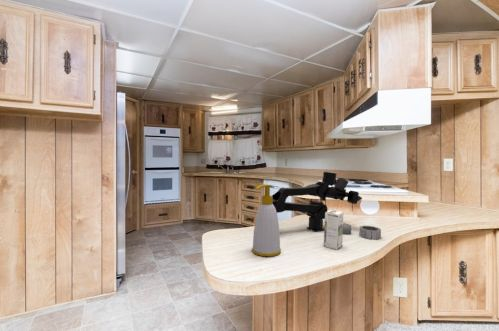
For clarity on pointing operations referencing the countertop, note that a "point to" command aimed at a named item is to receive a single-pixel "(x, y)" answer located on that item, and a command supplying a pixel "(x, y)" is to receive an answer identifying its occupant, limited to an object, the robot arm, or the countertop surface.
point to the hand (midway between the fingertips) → (355, 196)
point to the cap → (346, 229)
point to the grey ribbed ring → (370, 232)
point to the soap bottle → (266, 226)
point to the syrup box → (333, 229)
